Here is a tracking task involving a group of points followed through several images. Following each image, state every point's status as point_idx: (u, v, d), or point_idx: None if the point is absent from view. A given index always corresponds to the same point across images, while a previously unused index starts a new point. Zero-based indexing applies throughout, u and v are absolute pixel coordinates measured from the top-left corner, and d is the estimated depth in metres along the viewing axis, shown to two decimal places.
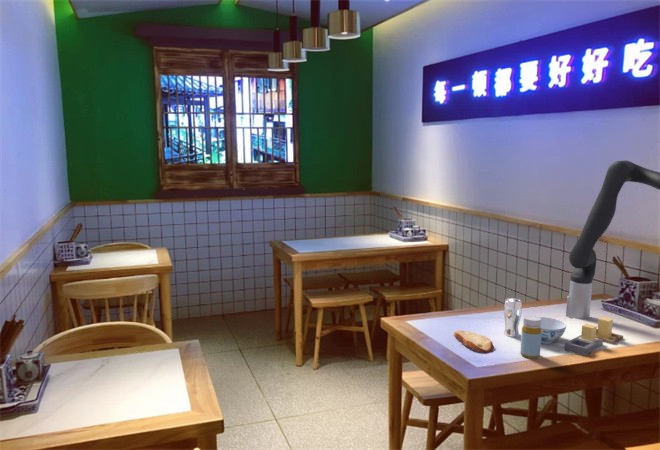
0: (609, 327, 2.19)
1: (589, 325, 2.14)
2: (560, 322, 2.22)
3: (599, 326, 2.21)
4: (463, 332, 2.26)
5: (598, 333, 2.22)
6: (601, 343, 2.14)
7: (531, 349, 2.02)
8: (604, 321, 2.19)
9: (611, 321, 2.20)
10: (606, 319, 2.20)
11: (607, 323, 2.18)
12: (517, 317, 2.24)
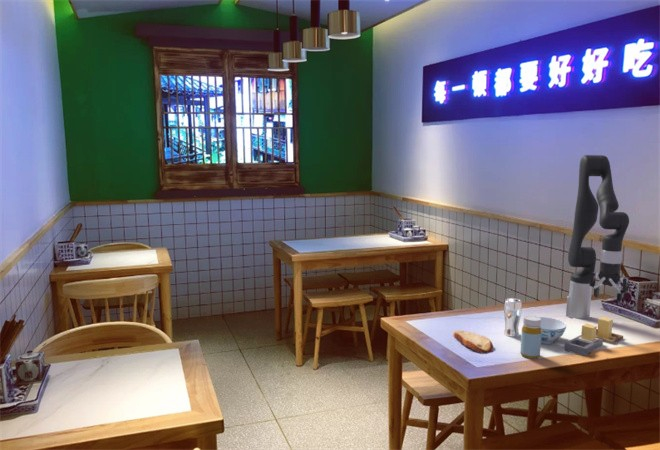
0: (609, 327, 2.19)
1: (589, 325, 2.14)
2: (560, 322, 2.22)
3: (599, 326, 2.21)
4: (462, 332, 2.26)
5: (598, 333, 2.22)
6: (601, 343, 2.14)
7: (531, 349, 2.02)
8: (604, 321, 2.19)
9: (611, 321, 2.20)
10: (606, 319, 2.20)
11: (607, 323, 2.18)
12: (517, 317, 2.24)
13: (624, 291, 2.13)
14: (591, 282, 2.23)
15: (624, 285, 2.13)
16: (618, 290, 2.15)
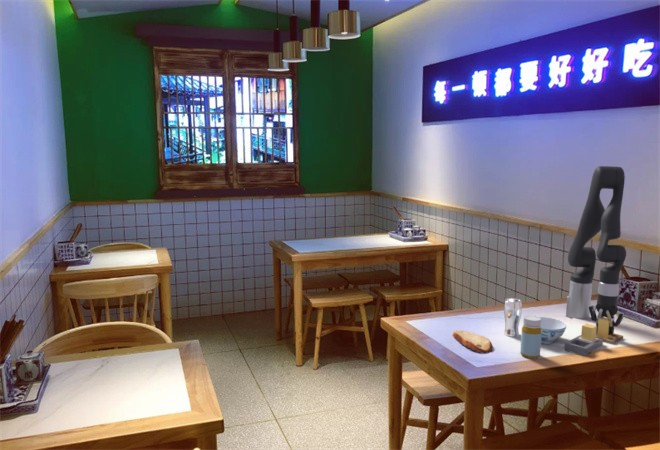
0: None
1: (589, 325, 2.14)
2: (560, 322, 2.22)
3: (599, 326, 2.21)
4: (462, 332, 2.25)
5: (598, 333, 2.22)
6: (601, 343, 2.14)
7: (531, 349, 2.02)
8: (604, 321, 2.19)
9: None
10: (606, 319, 2.20)
11: (607, 323, 2.18)
12: (517, 317, 2.24)
13: (616, 324, 2.17)
14: (592, 316, 2.24)
15: (618, 319, 2.16)
16: (610, 323, 2.18)
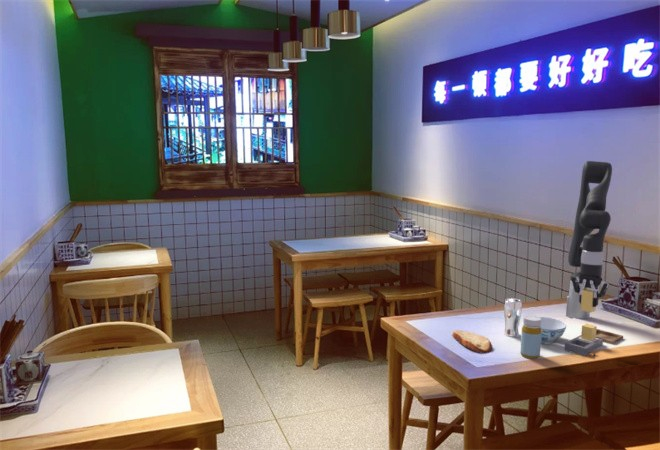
0: None
1: (589, 325, 2.14)
2: (560, 322, 2.22)
3: (583, 298, 2.08)
4: (461, 332, 2.26)
5: (582, 305, 2.08)
6: (601, 343, 2.14)
7: (531, 349, 2.02)
8: (588, 292, 2.06)
9: None
10: (590, 290, 2.07)
11: (591, 294, 2.05)
12: (517, 317, 2.24)
13: (600, 295, 2.04)
14: (575, 288, 2.10)
15: (602, 290, 2.03)
16: (594, 294, 2.05)
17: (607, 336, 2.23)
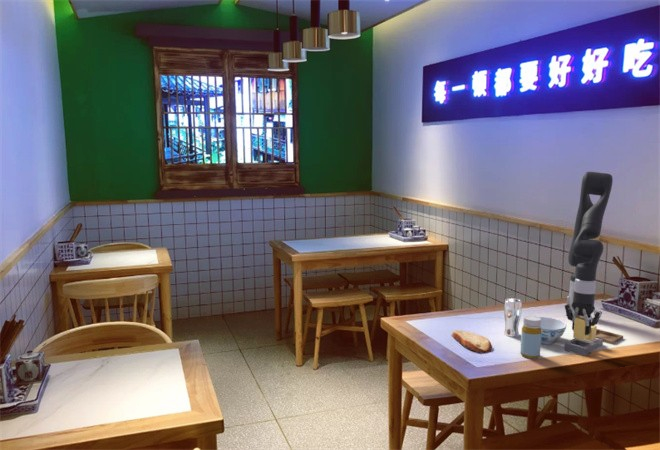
0: None
1: None
2: (560, 322, 2.22)
3: (575, 326, 2.09)
4: (461, 332, 2.26)
5: (574, 333, 2.09)
6: (601, 343, 2.14)
7: (531, 349, 2.02)
8: (581, 320, 2.07)
9: None
10: (582, 318, 2.08)
11: (583, 322, 2.06)
12: (517, 317, 2.24)
13: (592, 324, 2.04)
14: (568, 315, 2.11)
15: (595, 319, 2.03)
16: (586, 322, 2.06)
17: (607, 336, 2.23)
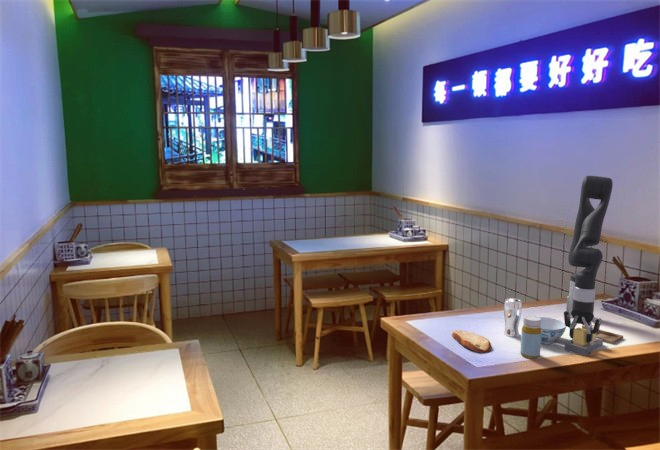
0: (585, 338, 2.08)
1: None
2: (560, 322, 2.22)
3: (574, 337, 2.09)
4: (461, 332, 2.26)
5: None
6: (601, 343, 2.14)
7: (531, 349, 2.02)
8: (580, 332, 2.08)
9: (587, 332, 2.08)
10: (582, 330, 2.09)
11: (582, 334, 2.07)
12: (517, 317, 2.24)
13: (594, 332, 2.04)
14: (566, 322, 2.12)
15: (595, 326, 2.04)
16: (588, 330, 2.06)
17: (607, 336, 2.23)
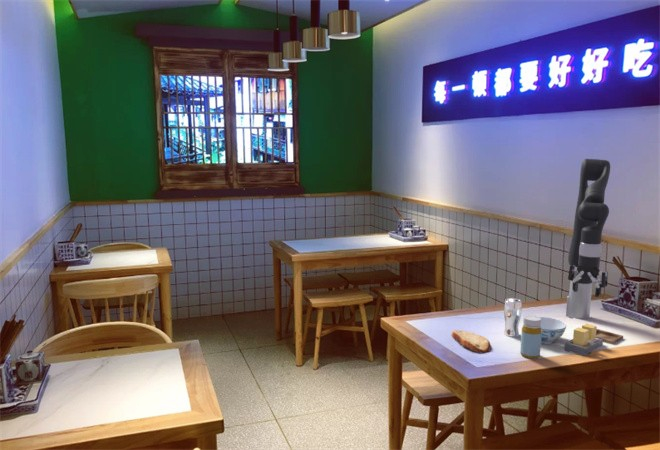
0: (585, 338, 2.08)
1: (589, 325, 2.14)
2: (560, 322, 2.22)
3: (574, 337, 2.09)
4: (461, 332, 2.26)
5: None
6: (601, 343, 2.14)
7: (531, 349, 2.02)
8: (580, 332, 2.08)
9: (587, 332, 2.08)
10: (582, 330, 2.09)
11: (582, 334, 2.07)
12: (517, 317, 2.24)
13: (603, 285, 2.04)
14: (570, 276, 2.14)
15: (603, 279, 2.04)
16: (597, 284, 2.06)
17: (607, 336, 2.23)
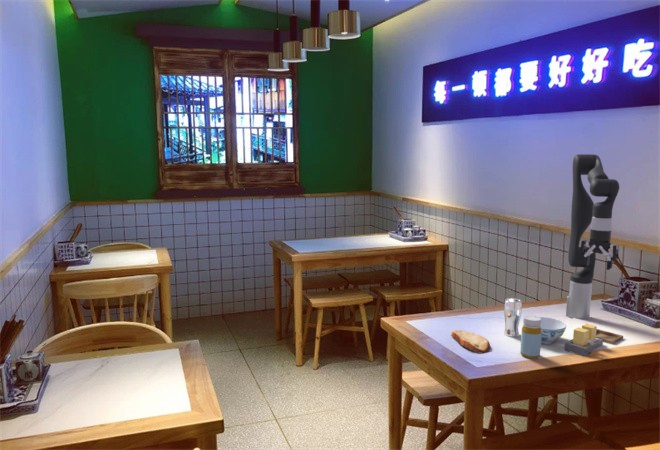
0: (585, 338, 2.08)
1: (589, 325, 2.14)
2: (560, 322, 2.22)
3: (574, 337, 2.09)
4: (460, 332, 2.26)
5: None
6: (601, 343, 2.14)
7: (531, 349, 2.02)
8: (580, 332, 2.08)
9: (587, 332, 2.08)
10: (582, 330, 2.09)
11: (582, 334, 2.07)
12: (517, 317, 2.24)
13: (614, 258, 2.13)
14: (581, 250, 2.22)
15: (614, 252, 2.12)
16: (608, 257, 2.14)
17: (607, 336, 2.23)
